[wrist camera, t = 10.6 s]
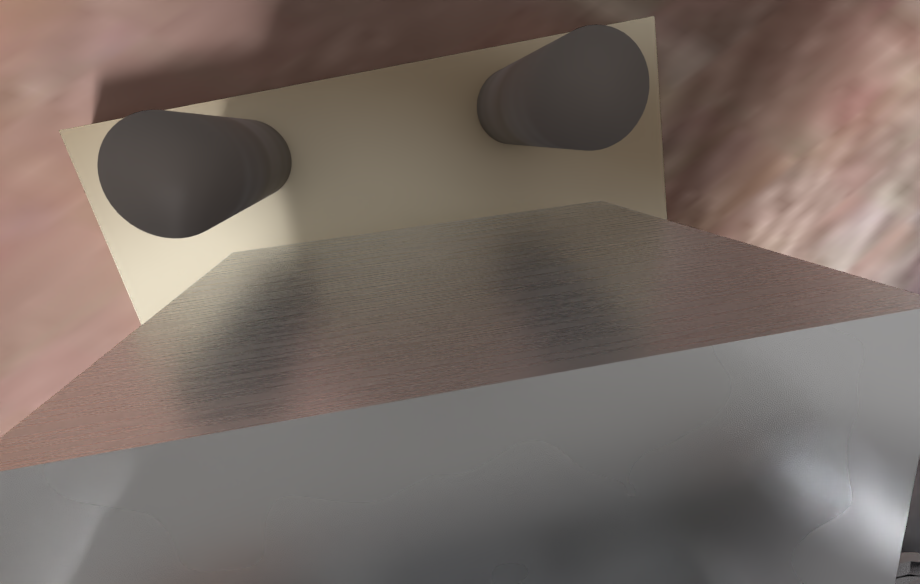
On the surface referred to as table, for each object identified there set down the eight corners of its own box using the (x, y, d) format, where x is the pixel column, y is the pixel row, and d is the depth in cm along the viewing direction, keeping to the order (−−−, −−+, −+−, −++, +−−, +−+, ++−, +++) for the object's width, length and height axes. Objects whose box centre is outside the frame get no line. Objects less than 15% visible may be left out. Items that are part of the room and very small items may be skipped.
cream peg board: (672, 583, 16) (798, 777, 11) (315, 686, 15) (284, 946, 10) (630, 26, 11) (827, -60, 6) (89, 130, 10) (-181, 128, 5)
